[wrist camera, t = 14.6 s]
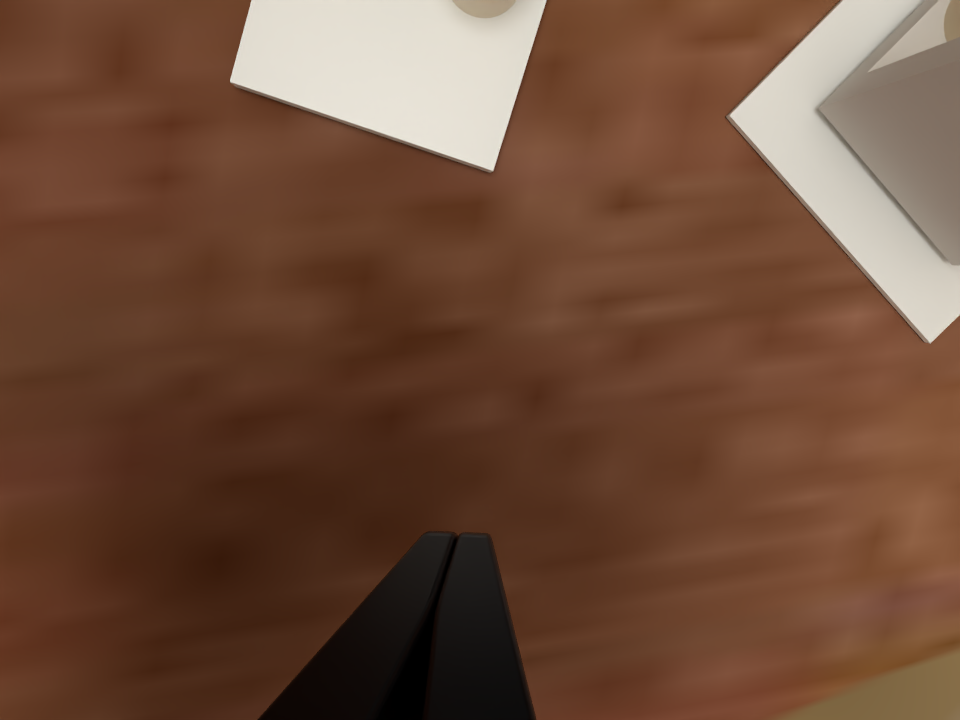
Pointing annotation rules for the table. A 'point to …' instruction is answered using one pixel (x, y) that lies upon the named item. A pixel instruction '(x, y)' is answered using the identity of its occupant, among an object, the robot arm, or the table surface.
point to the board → (396, 66)
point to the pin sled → (911, 119)
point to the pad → (848, 163)
